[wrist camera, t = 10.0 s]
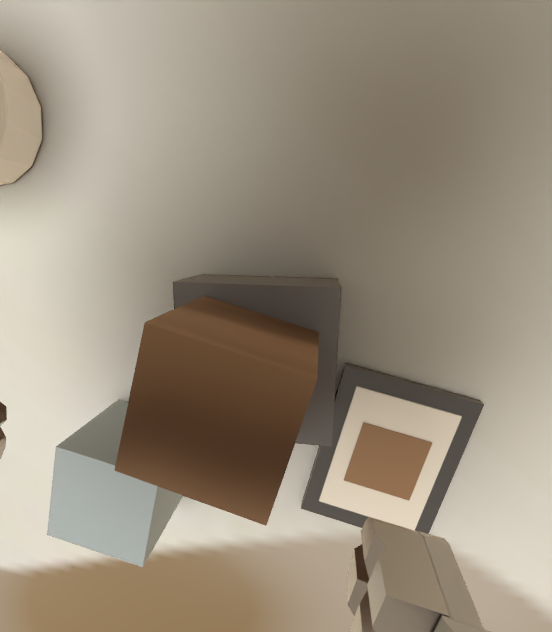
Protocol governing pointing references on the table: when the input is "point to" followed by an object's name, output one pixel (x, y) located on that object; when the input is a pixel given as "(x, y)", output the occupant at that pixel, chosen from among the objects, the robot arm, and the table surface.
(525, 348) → the table surface
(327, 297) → the charcoal base block
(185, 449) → the walnut block
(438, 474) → the card
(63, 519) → the slate-blue block
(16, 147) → the white cup
